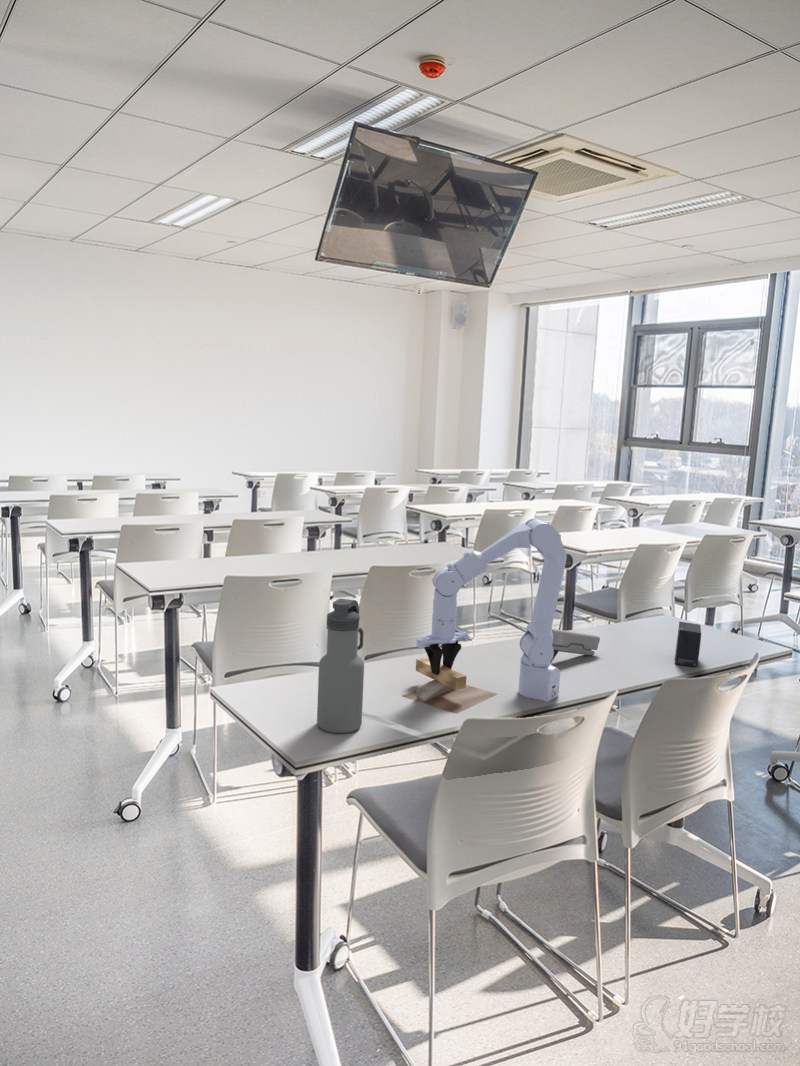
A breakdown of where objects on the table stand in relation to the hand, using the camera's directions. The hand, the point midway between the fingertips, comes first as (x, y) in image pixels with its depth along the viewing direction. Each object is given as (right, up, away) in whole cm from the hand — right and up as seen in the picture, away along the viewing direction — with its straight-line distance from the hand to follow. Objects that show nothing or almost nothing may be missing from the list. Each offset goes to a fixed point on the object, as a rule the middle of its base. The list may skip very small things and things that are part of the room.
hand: (440, 672), depth 198 cm
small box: (+74, -4, +40) cm, 84 cm away
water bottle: (-23, -8, -20) cm, 32 cm away
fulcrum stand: (+2, -6, -1) cm, 7 cm away
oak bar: (0, -2, 0) cm, 2 cm away
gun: (+38, -3, +36) cm, 52 cm away
